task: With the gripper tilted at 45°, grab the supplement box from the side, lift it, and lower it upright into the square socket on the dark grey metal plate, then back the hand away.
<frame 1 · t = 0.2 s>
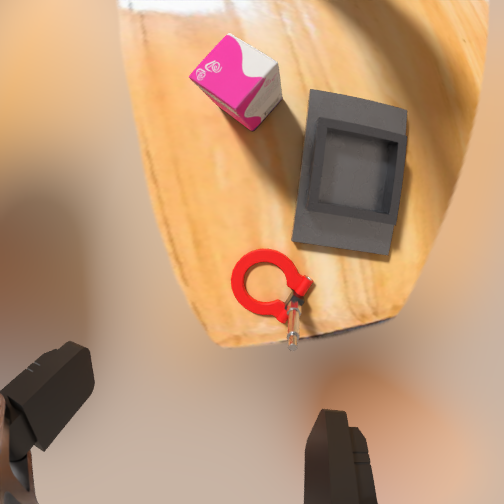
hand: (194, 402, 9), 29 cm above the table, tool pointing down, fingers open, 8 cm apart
supplement box: (249, 101, 33), on the table
tow hook: (268, 282, 38), on the table
socket plate: (350, 172, 34), on the table
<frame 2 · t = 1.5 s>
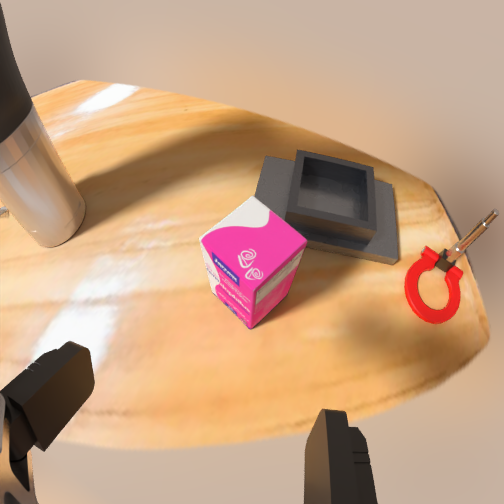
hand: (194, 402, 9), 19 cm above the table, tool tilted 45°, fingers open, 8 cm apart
supplement box: (249, 295, 32), on the table
tow hook: (431, 289, 32), on the table
socket plate: (326, 209, 37), on the table
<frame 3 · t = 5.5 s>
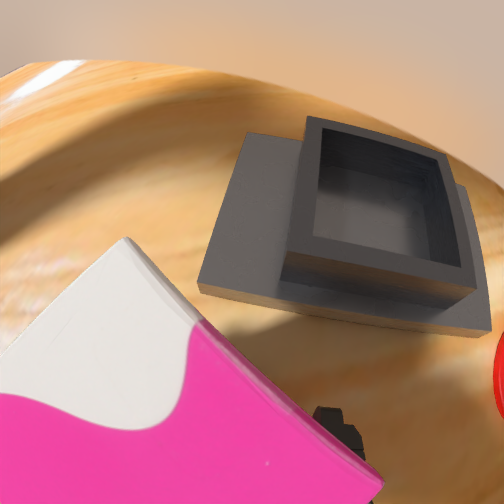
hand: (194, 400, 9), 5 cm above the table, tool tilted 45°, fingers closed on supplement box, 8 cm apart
supplement box: (206, 428, 13), on the table, touching gripper
socket plate: (364, 234, 19), on the table
when the fingers open (10 cm above the table, at t = 12.0 s): supplement box drops 3 cm, resting on socket plate.
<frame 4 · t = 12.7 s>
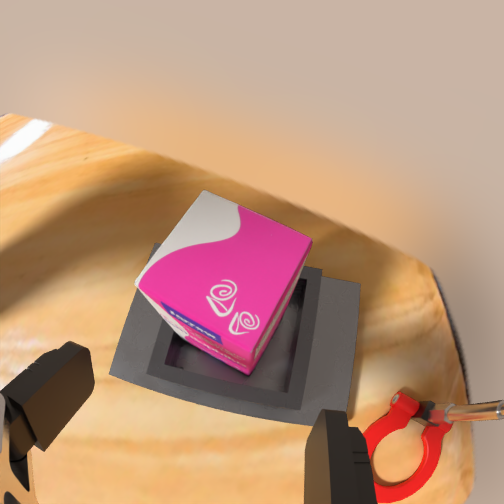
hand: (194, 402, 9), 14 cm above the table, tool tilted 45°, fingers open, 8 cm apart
supplement box: (233, 329, 22), point 1 cm above the table, touching socket plate
tow hook: (397, 453, 18), on the table
socket plate: (239, 337, 23), on the table
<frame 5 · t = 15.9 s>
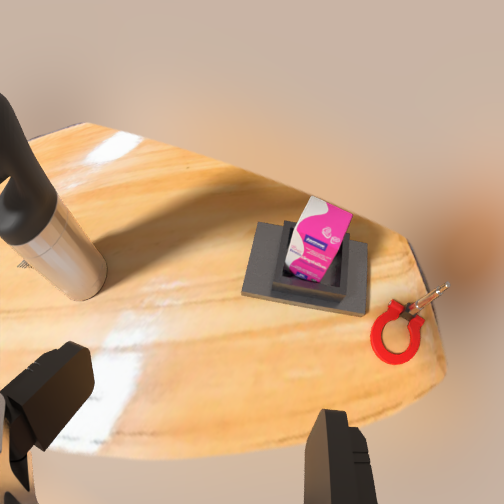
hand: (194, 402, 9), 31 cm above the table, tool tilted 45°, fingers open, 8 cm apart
supplement box: (307, 264, 44), point 1 cm above the table, touching socket plate
tow hook: (395, 335, 41), on the table
socket plate: (308, 270, 45), on the table
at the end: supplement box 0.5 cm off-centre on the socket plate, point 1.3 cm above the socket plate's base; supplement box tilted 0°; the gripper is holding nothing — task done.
